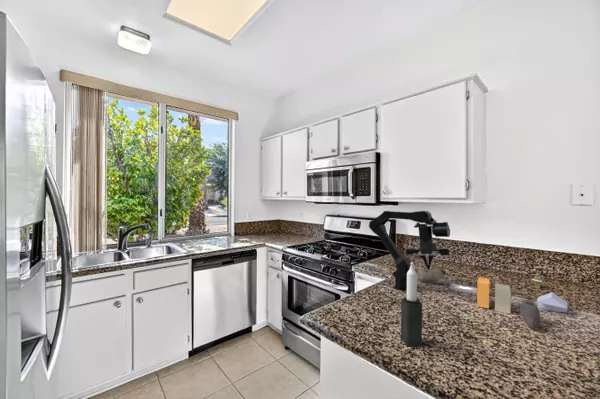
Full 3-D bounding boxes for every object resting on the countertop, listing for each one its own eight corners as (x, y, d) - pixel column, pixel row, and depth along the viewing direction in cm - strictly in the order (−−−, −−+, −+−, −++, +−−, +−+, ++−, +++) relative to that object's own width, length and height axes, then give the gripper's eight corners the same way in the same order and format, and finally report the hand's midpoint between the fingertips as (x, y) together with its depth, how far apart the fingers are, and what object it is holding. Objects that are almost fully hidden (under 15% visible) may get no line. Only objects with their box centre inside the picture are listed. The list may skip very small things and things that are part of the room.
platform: (520, 288, 139) (520, 276, 139) (525, 281, 152) (525, 270, 152) (552, 294, 131) (552, 281, 131) (554, 287, 143) (554, 274, 143)
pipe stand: (448, 302, 117) (448, 282, 117) (452, 294, 128) (452, 275, 128) (510, 315, 104) (510, 292, 104) (509, 305, 115) (509, 284, 115)
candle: (399, 338, 86) (400, 260, 86) (414, 337, 86) (415, 260, 86) (407, 346, 81) (408, 264, 81) (423, 346, 81) (424, 264, 81)
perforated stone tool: (543, 334, 89) (543, 314, 89) (523, 330, 93) (523, 310, 93) (537, 319, 102) (537, 300, 102) (519, 315, 105) (519, 297, 105)
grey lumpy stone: (430, 298, 143) (457, 287, 139) (423, 289, 140) (451, 277, 135) (419, 276, 158) (443, 265, 153) (412, 267, 154) (437, 255, 150)
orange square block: (477, 306, 112) (477, 282, 112) (478, 299, 120) (478, 277, 120) (488, 308, 110) (489, 284, 110) (489, 301, 118) (489, 278, 118)
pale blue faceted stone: (567, 317, 104) (567, 308, 113) (567, 299, 104) (567, 292, 113) (536, 310, 110) (539, 302, 119) (536, 293, 110) (539, 287, 119)
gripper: (403, 238, 125) (405, 271, 124) (448, 238, 117) (451, 274, 115) (405, 236, 135) (408, 267, 134) (447, 235, 126) (450, 269, 125)
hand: (428, 269), depth 127 cm, fingers closed
